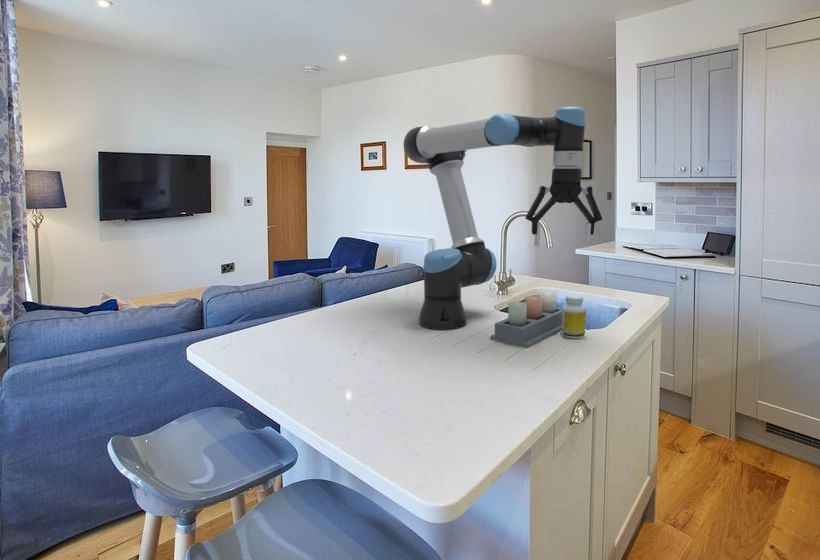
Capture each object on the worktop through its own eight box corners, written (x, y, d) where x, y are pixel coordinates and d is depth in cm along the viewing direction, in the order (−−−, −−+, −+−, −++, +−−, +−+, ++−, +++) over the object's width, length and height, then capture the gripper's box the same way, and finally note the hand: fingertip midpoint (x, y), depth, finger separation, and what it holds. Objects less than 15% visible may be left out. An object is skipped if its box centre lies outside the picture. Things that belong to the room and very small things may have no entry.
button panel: (490, 339, 144) (490, 322, 143) (536, 319, 163) (536, 304, 162) (527, 347, 136) (528, 330, 135) (571, 325, 155) (572, 310, 154)
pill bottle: (586, 339, 142) (588, 299, 140) (562, 338, 143) (563, 299, 141) (583, 333, 148) (584, 294, 146) (560, 332, 149) (561, 294, 147)
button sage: (504, 324, 142) (505, 304, 141) (514, 321, 146) (514, 300, 145) (520, 327, 139) (520, 306, 138) (529, 324, 142) (530, 303, 141)
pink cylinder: (521, 318, 149) (521, 298, 147) (529, 314, 152) (530, 295, 151) (536, 320, 145) (537, 300, 144) (544, 317, 149) (545, 297, 148)
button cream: (536, 312, 155) (536, 293, 154) (543, 308, 159) (544, 290, 158) (551, 314, 152) (551, 295, 151) (558, 311, 155) (559, 292, 154)
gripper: (523, 167, 131) (518, 248, 136) (619, 168, 130) (611, 248, 135) (517, 167, 138) (513, 244, 143) (608, 168, 138) (602, 244, 142)
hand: (561, 246), depth 139 cm, fingers open, 13 cm apart
